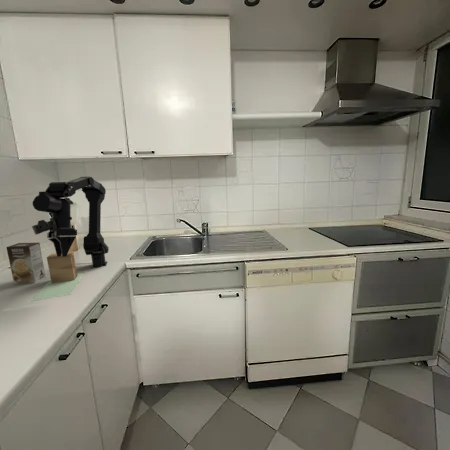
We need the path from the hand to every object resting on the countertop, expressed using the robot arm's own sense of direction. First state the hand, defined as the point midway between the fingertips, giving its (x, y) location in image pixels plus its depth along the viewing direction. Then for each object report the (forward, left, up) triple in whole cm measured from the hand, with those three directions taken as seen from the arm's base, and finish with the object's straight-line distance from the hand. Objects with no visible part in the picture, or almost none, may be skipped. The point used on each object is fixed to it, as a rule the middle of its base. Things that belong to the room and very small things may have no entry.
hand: (61, 256), depth 88 cm
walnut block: (-10, -3, -13) cm, 16 cm away
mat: (-4, -3, -13) cm, 14 cm away
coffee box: (-16, -17, -13) cm, 27 cm away
